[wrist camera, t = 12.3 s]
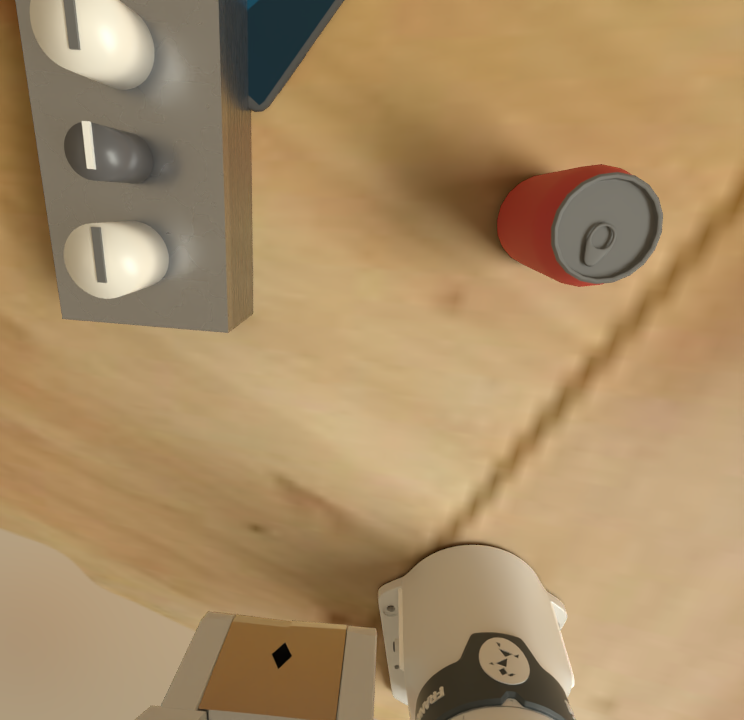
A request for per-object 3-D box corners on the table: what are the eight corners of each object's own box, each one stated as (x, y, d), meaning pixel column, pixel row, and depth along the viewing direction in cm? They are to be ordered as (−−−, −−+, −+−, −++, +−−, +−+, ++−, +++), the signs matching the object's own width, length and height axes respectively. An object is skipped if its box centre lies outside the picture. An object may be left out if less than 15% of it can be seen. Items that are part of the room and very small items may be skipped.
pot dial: (155, 185, 30) (117, 182, 26) (109, 181, 30) (65, 178, 26) (151, 134, 29) (112, 123, 25) (104, 130, 29) (58, 118, 25)
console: (253, 313, 39) (228, 332, 33) (111, 301, 39) (62, 318, 33) (249, -3, 31) (216, -49, 26) (76, -15, 32) (6, -62, 26)
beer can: (480, 247, 36) (520, 268, 25) (518, 160, 34) (580, 139, 22) (558, 277, 36) (631, 311, 25) (600, 193, 34) (701, 189, 23)
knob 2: (199, 279, 36) (139, 302, 28) (144, 274, 36) (67, 296, 28) (196, 220, 35) (132, 226, 26) (139, 216, 35) (56, 220, 27)
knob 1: (190, 107, 32) (118, 74, 24) (128, 103, 33) (35, 68, 24) (187, 34, 31) (108, -29, 23) (122, 29, 31) (20, -35, 23)
